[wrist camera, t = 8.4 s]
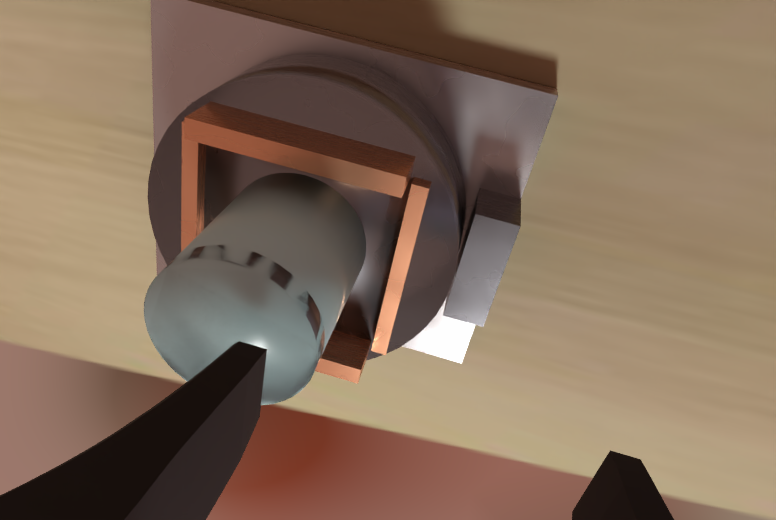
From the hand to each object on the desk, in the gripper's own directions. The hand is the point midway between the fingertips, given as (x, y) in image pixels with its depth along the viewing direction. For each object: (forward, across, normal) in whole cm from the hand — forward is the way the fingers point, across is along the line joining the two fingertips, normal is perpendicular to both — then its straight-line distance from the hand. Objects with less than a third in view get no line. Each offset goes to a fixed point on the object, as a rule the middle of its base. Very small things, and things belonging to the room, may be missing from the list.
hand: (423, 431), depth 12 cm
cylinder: (+7, +5, 0) cm, 8 cm away
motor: (+10, +5, +1) cm, 12 cm away
